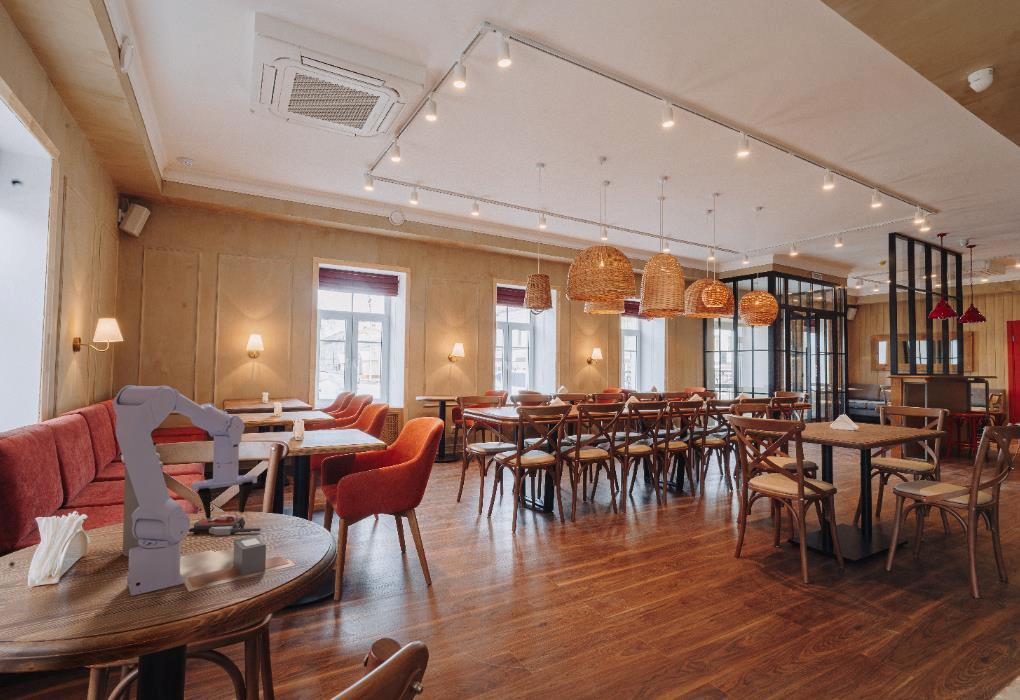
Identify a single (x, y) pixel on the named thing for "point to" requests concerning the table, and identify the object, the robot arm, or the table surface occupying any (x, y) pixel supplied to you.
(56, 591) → the table surface
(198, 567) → the subfloor panel
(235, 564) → the block
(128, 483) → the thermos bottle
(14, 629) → the table surface
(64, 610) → the table surface
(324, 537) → the table surface
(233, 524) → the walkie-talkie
